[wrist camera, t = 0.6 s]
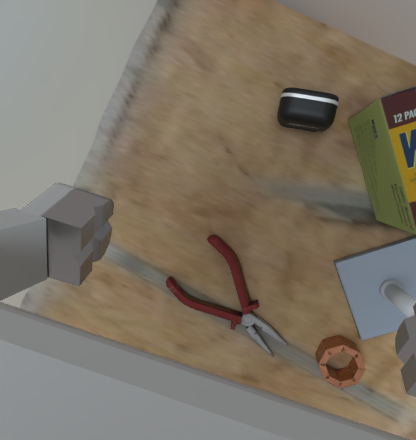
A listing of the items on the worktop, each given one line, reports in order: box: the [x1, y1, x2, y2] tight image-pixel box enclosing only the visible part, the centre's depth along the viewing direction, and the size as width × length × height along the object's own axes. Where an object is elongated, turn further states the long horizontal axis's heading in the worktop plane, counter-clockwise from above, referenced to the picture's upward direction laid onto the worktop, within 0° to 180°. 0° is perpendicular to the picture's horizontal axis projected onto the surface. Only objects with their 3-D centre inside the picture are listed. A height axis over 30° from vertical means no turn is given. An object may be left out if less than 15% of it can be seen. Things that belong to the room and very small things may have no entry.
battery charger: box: [277, 88, 339, 132], centre depth 51 cm, size 7×4×11 cm, turn 79°
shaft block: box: [334, 236, 416, 340], centre depth 52 cm, size 12×12×10 cm
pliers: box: [166, 235, 288, 357], centre depth 60 cm, size 11×20×3 cm, turn 46°
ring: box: [316, 335, 366, 388], centre depth 57 cm, size 6×6×4 cm
